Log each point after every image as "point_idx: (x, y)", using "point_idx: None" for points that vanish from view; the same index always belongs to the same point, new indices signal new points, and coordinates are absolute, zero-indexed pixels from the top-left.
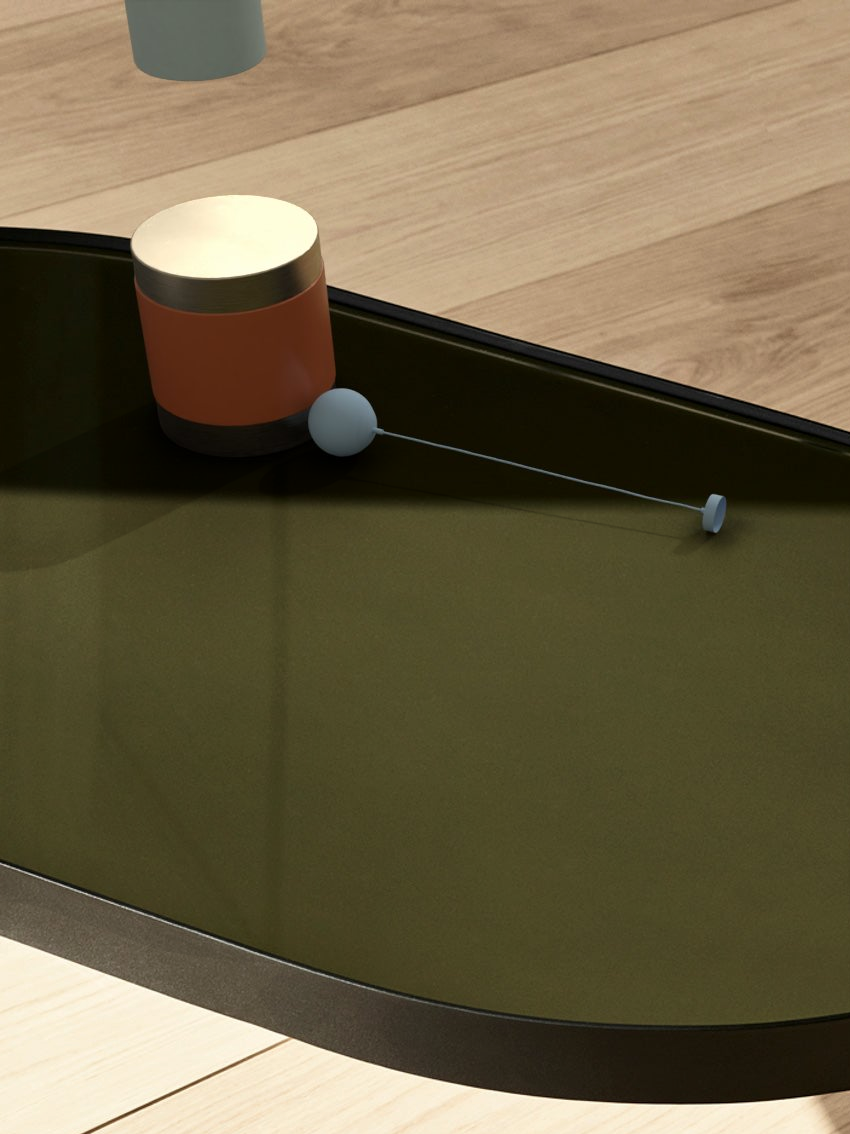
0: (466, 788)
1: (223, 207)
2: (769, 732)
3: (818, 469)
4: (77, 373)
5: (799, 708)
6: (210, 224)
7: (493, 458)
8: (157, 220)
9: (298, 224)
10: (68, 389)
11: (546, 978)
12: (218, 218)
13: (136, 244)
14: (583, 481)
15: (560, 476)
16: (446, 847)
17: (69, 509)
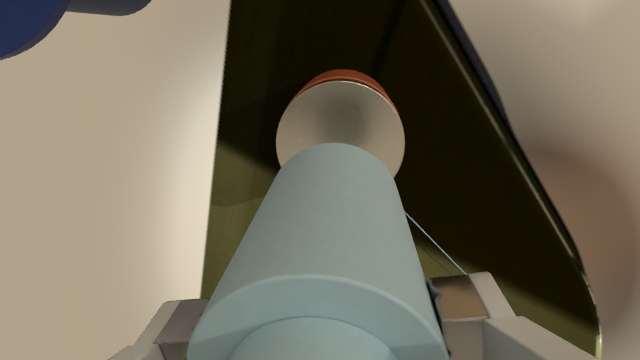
0: None
1: (352, 104)
2: None
3: (561, 278)
4: (264, 30)
5: None
6: (335, 127)
7: (428, 236)
8: (302, 103)
9: (391, 153)
10: (256, 47)
11: None
12: (343, 121)
13: (280, 135)
14: (456, 265)
15: (449, 258)
16: None
17: (238, 167)
